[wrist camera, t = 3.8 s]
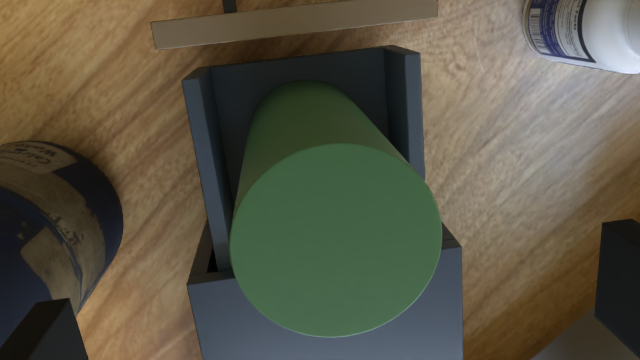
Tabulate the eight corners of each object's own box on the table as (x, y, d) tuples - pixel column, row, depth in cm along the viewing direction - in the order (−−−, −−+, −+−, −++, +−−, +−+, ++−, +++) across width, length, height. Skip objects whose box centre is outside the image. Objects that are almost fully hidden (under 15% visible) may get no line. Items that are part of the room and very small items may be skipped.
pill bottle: (623, -12, 30) (782, -22, 21) (577, 74, 31) (705, 101, 22) (547, -51, 29) (679, -80, 19) (502, 40, 30) (605, 53, 21)
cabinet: (205, 221, 32) (186, 284, 25) (419, 192, 33) (462, 246, 25) (243, 417, 37) (237, 518, 30) (427, 389, 38) (465, 480, 31)
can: (359, 72, 28) (440, 129, 15) (368, 184, 30) (445, 322, 17) (239, 86, 27) (211, 158, 14) (257, 199, 30) (246, 351, 16)
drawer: (157, -69, 26) (126, -91, 20) (400, -93, 26) (435, -121, 21) (219, 260, 32) (209, 313, 26) (415, 233, 33) (445, 280, 27)
